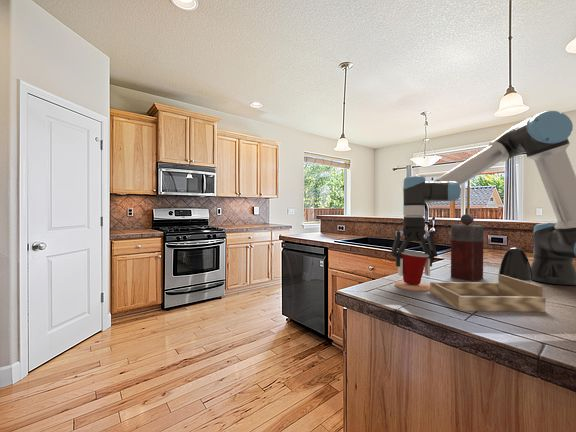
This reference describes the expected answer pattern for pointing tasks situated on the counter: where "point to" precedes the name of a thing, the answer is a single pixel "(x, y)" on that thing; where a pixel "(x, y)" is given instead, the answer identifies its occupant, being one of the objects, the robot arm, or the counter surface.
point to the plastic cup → (413, 266)
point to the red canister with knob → (467, 250)
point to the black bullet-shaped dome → (516, 265)
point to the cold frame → (510, 290)
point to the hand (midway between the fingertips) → (413, 275)
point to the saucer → (413, 286)
